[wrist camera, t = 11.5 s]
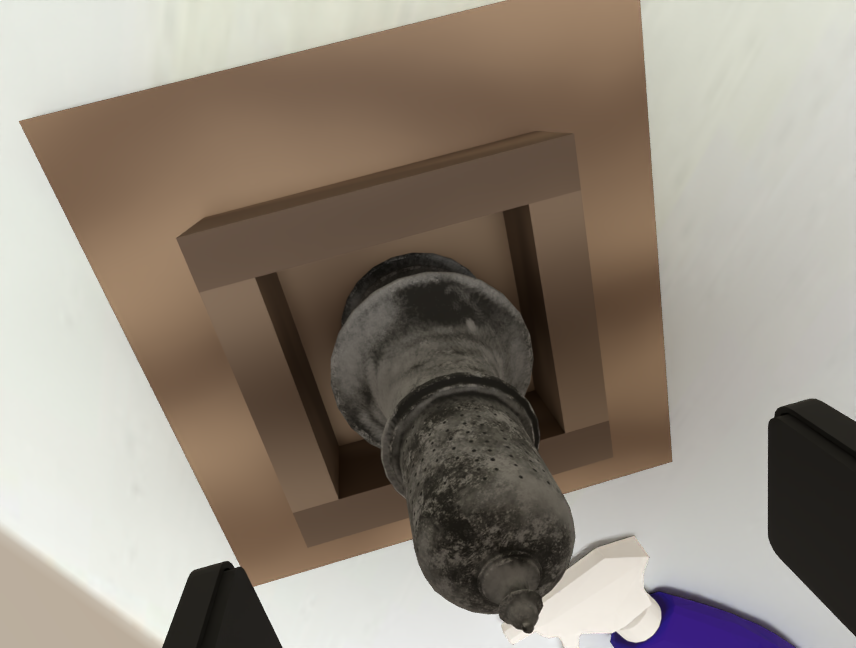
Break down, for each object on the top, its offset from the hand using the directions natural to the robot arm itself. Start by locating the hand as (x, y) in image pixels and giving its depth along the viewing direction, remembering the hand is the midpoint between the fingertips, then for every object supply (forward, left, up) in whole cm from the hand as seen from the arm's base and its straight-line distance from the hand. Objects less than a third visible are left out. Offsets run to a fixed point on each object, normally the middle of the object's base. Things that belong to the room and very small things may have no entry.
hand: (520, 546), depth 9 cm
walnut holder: (0, +1, -11) cm, 11 cm away
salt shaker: (0, 0, -10) cm, 10 cm away
